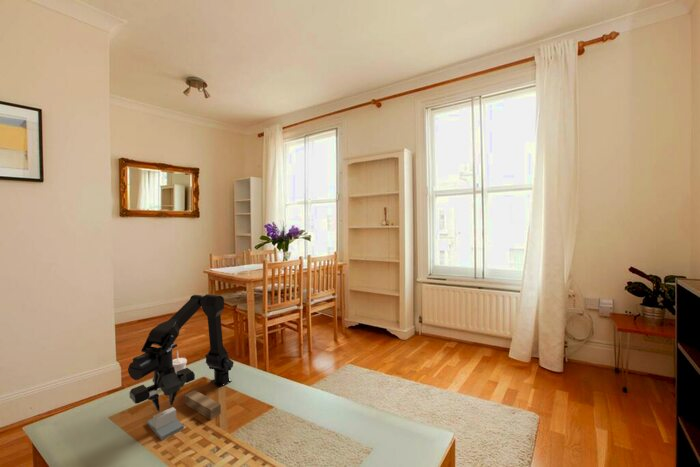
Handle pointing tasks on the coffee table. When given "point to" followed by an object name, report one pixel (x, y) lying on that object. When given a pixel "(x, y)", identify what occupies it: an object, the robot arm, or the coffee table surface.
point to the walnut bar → (203, 404)
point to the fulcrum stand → (165, 423)
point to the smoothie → (179, 363)
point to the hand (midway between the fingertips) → (164, 407)
